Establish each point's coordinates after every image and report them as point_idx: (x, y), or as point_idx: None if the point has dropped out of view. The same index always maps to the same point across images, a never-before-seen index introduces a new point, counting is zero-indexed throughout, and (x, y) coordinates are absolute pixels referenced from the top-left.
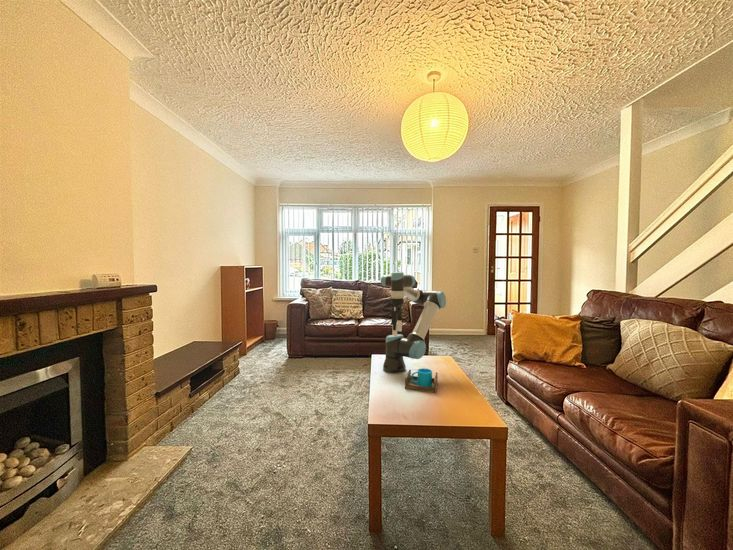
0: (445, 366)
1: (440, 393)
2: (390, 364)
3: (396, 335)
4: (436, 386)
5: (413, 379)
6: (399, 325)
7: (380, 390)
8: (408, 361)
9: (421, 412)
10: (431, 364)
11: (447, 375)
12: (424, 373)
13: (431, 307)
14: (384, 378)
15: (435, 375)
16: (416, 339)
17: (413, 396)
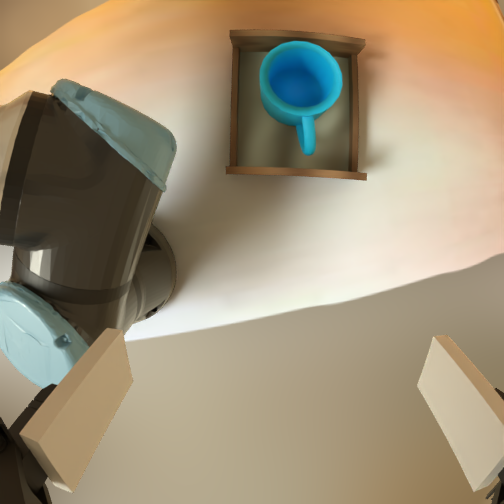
0: (36, 66)
1: None
2: (157, 291)
3: (448, 342)
4: None
5: (239, 152)
6: (92, 409)
7: (387, 273)
8: None
9: (497, 119)
10: None
11: (132, 28)
12: (341, 78)
13: None
14: (253, 287)
15: (278, 35)
16: (59, 141)
17: (412, 139)
